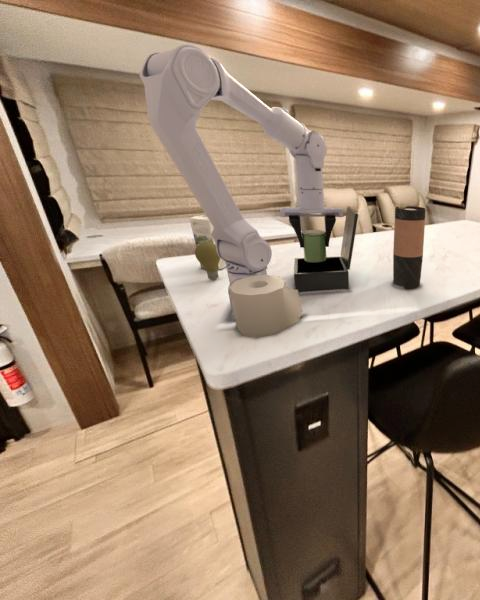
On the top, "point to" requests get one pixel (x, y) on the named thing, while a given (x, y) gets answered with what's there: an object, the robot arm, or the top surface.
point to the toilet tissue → (264, 305)
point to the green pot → (314, 245)
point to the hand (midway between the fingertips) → (314, 246)
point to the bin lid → (349, 236)
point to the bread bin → (320, 275)
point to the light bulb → (208, 258)
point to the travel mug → (408, 246)
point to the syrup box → (204, 233)
